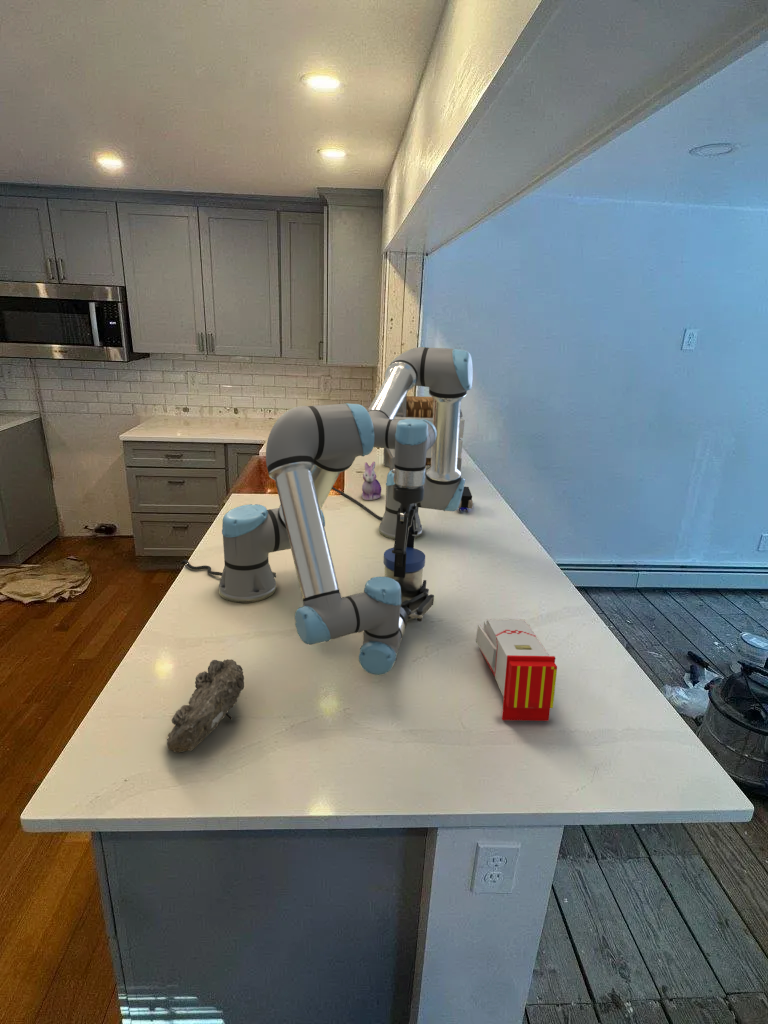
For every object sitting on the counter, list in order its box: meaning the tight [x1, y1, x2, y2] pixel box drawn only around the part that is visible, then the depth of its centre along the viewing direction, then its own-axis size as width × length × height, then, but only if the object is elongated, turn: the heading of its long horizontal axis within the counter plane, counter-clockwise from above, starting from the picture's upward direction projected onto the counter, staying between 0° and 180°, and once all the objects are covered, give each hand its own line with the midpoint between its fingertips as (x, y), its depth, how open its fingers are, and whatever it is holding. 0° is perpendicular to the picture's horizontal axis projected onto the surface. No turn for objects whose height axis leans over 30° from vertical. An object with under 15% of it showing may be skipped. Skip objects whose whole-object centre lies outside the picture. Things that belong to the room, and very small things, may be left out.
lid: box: [382, 546, 426, 572], centre depth 144 cm, size 11×11×2 cm
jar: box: [383, 565, 424, 621], centre depth 146 cm, size 10×10×16 cm
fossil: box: [166, 658, 245, 754], centre depth 106 cm, size 22×10×15 cm
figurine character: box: [458, 486, 474, 513], centre depth 227 cm, size 7×8×15 cm
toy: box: [475, 618, 558, 722], centre depth 122 cm, size 12×13×30 cm
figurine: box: [361, 461, 382, 501], centre depth 234 cm, size 9×10×15 cm
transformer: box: [383, 393, 465, 472], centre depth 268 cm, size 34×33×41 cm
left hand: (405, 582), depth 151 cm, fingers closed on jar, 10 cm apart
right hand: (403, 567), depth 145 cm, fingers closed on lid, 10 cm apart
